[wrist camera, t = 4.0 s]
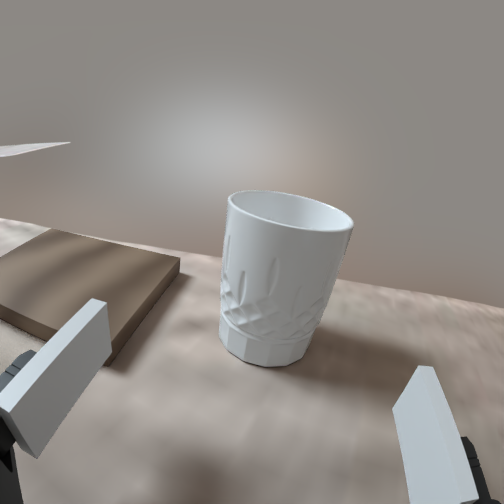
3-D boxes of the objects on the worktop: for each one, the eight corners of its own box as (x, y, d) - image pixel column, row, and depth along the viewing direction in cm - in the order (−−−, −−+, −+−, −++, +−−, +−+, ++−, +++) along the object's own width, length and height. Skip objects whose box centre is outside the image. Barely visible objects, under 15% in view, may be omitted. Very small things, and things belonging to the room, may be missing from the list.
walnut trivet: (179, 272, 31) (180, 257, 30) (108, 366, 18) (105, 348, 17) (52, 240, 32) (51, 228, 31) (-36, 297, 19) (-40, 282, 18)
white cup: (194, 354, 21) (209, 208, 17) (228, 299, 28) (246, 184, 24) (310, 386, 20) (359, 243, 16) (318, 321, 27) (350, 207, 23)
